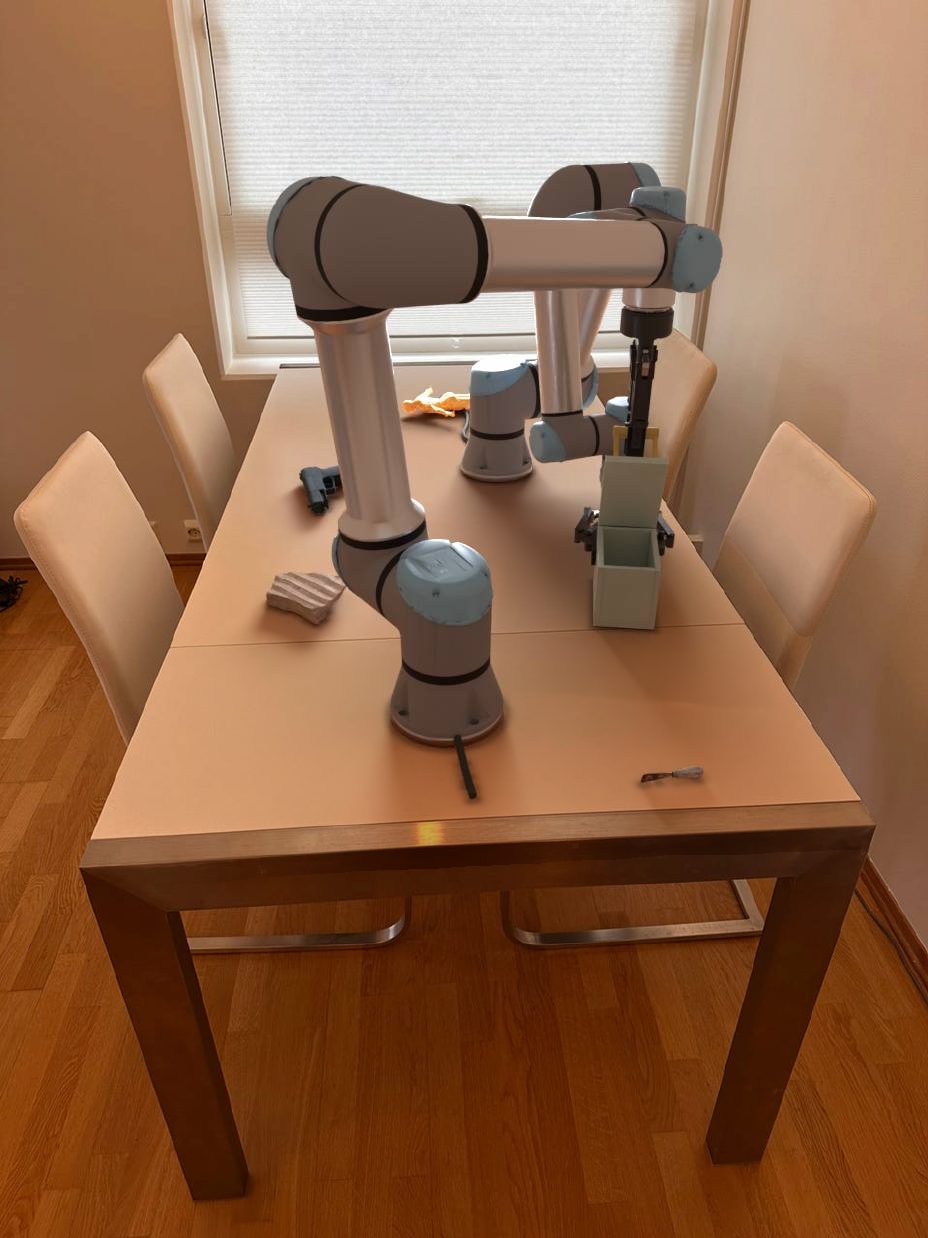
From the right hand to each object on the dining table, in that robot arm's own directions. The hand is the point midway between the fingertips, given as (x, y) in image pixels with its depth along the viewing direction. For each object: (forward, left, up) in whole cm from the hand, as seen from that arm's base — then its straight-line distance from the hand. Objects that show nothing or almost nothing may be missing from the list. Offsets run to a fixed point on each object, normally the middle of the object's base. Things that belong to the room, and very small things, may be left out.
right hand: (625, 559), depth 144 cm
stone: (-14, -50, -7) cm, 52 cm away
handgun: (-55, -38, -7) cm, 67 cm away
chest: (+3, -1, -6) cm, 7 cm away
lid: (0, 0, +11) cm, 11 cm away
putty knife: (+43, -15, -7) cm, 46 cm away
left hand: (-5, +2, +15) cm, 16 cm away
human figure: (-97, +1, -7) cm, 97 cm away
